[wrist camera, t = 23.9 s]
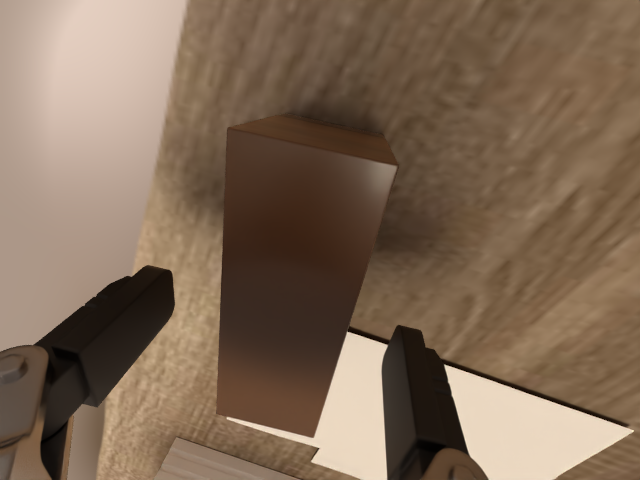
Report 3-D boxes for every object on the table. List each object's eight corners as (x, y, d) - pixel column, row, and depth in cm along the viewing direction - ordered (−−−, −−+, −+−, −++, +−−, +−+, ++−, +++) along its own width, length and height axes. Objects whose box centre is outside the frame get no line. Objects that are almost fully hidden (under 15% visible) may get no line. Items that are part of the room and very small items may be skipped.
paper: (648, 418, 18) (663, 437, 17) (492, 522, 26) (497, 538, 25) (252, 296, 18) (246, 308, 17) (222, 440, 26) (217, 453, 25)
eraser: (283, 112, 13) (226, 126, 7) (383, 134, 13) (400, 164, 7) (258, 320, 18) (215, 414, 13) (328, 337, 18) (313, 439, 13)
